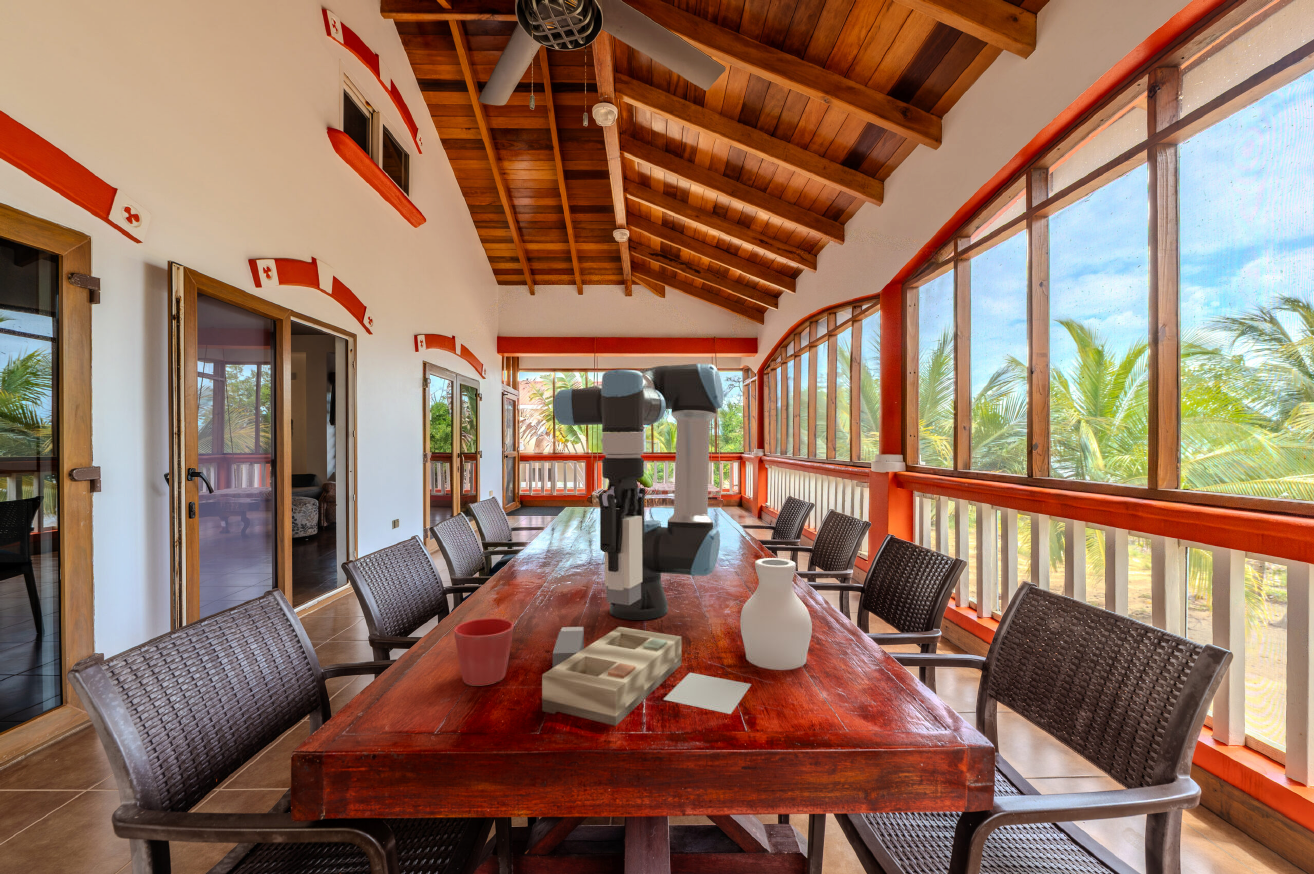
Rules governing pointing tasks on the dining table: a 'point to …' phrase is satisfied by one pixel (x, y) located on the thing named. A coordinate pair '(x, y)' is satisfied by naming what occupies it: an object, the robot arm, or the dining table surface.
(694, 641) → the dining table surface
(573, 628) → the plug
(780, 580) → the vase
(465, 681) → the flower pot
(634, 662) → the socket box
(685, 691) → the mat
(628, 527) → the plug
